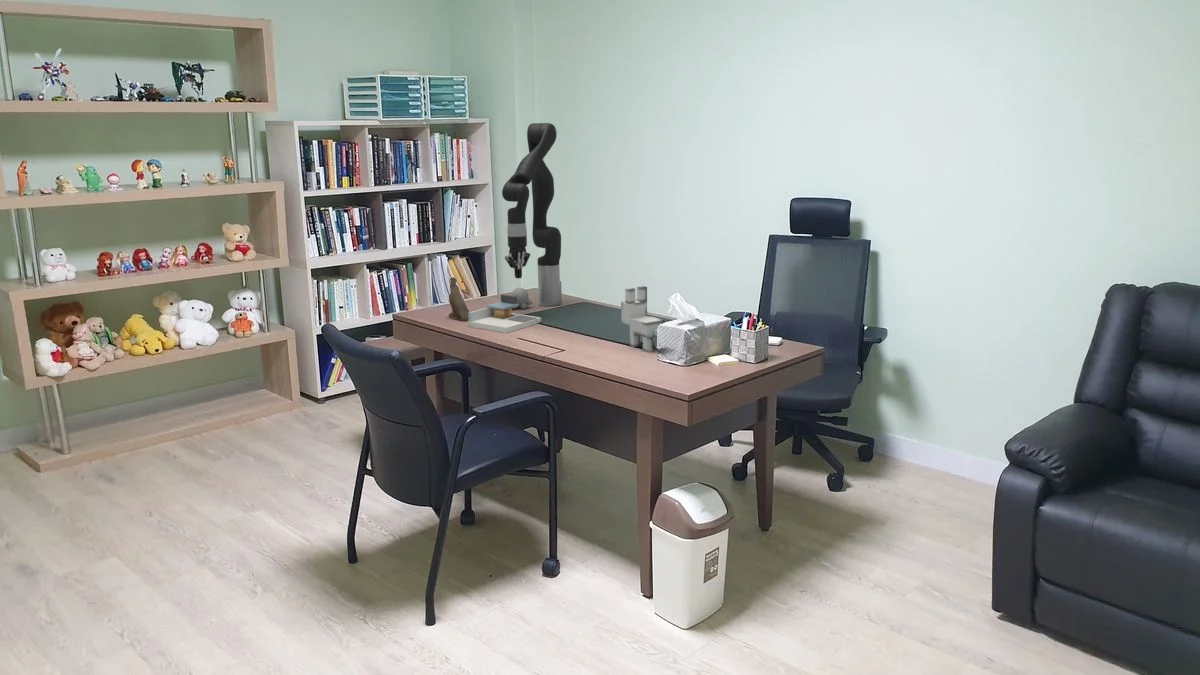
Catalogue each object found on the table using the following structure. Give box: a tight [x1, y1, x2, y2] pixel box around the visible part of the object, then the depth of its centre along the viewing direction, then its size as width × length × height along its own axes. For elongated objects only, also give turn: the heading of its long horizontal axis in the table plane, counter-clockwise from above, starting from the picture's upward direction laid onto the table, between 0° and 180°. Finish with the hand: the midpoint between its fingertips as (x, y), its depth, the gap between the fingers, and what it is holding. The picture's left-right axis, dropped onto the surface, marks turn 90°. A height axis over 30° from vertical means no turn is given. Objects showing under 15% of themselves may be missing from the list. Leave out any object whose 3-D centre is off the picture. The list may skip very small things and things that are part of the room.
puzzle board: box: [467, 307, 542, 334], centre depth 339 cm, size 20×20×6 cm
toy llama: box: [620, 285, 666, 353], centre depth 302 cm, size 8×18×20 cm, turn 34°
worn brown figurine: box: [448, 277, 470, 322], centre depth 350 cm, size 12×6×18 cm, turn 38°
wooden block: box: [494, 308, 513, 319], centre depth 345 cm, size 5×5×5 cm
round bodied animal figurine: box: [510, 287, 533, 310], centre depth 366 cm, size 7×12×8 cm, turn 126°
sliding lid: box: [485, 293, 519, 310], centre depth 344 cm, size 9×9×4 cm
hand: (518, 278), depth 349 cm, fingers closed
